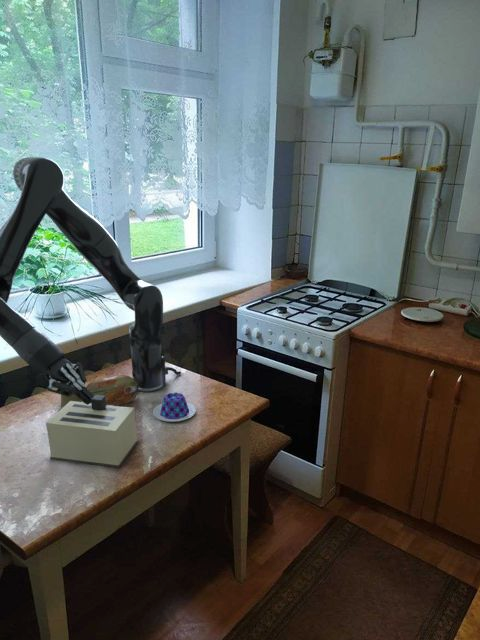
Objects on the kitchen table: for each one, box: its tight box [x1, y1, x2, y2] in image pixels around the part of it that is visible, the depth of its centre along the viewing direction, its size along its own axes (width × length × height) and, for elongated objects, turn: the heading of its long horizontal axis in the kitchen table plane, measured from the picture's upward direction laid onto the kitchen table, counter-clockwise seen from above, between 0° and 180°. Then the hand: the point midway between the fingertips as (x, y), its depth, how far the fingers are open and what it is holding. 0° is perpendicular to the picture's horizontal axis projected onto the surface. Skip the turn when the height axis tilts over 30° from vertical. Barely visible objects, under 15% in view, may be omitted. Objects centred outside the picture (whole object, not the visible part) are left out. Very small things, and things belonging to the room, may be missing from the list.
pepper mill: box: [60, 390, 82, 410], centre depth 140 cm, size 6×6×11 cm
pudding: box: [152, 392, 197, 422], centre depth 140 cm, size 12×12×5 cm
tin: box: [85, 374, 139, 406], centre depth 143 cm, size 15×3×8 cm, turn 117°
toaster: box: [45, 401, 139, 469], centre depth 121 cm, size 13×17×10 cm
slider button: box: [91, 395, 106, 410], centre depth 121 cm, size 2×3×3 cm
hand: (91, 401), depth 121 cm, fingers closed
